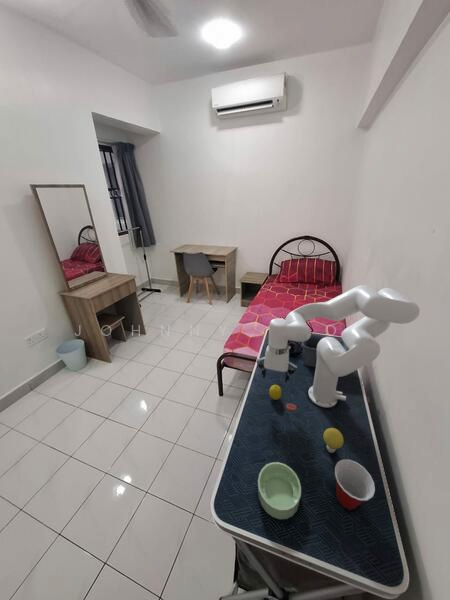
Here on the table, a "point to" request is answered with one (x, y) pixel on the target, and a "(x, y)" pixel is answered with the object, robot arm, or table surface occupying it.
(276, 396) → the lemon
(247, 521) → the table surface
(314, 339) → the storage bin
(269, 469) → the pale green bowl
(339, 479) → the plastic cup
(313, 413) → the table surface
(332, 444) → the light bulb
